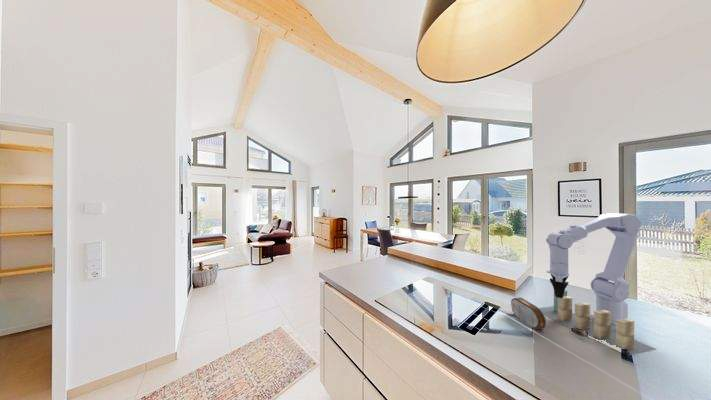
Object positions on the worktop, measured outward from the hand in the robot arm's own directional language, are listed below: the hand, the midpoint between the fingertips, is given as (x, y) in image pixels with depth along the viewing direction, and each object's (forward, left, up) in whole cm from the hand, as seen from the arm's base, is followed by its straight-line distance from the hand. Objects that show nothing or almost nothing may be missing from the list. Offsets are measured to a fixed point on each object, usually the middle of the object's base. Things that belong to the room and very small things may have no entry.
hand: (559, 294), depth 96 cm
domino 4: (0, +14, -9) cm, 17 cm away
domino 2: (0, +2, -9) cm, 10 cm away
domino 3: (0, +8, -9) cm, 12 cm away
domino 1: (-6, -4, -9) cm, 12 cm away
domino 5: (0, +20, -9) cm, 22 cm away
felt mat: (-2, +8, -10) cm, 13 cm away
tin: (+17, 0, -10) cm, 20 cm away
